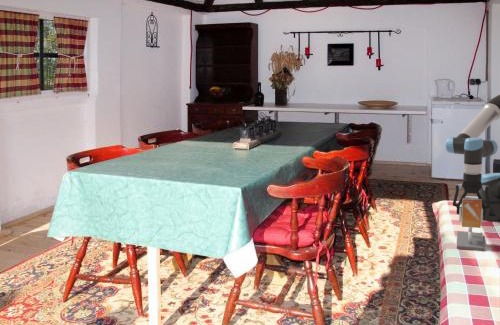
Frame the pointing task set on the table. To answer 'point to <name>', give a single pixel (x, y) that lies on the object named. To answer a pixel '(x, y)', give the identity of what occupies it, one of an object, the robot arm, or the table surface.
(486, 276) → the table surface
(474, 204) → the small box
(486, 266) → the table surface
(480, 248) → the pin tray
